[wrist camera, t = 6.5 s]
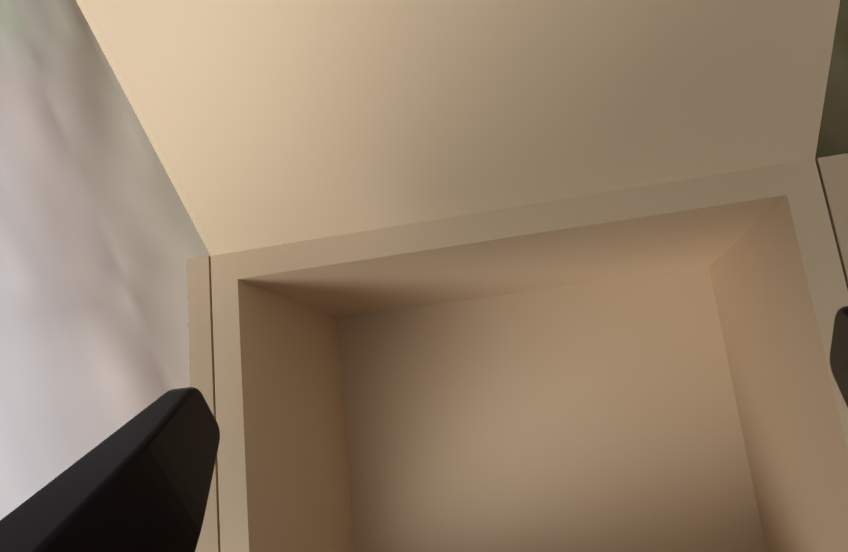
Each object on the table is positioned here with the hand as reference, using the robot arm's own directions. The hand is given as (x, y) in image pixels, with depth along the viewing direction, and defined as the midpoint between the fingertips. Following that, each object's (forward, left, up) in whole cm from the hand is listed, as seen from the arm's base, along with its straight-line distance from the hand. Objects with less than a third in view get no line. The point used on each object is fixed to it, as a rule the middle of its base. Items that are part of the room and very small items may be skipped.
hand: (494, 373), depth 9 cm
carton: (-3, -1, -10) cm, 10 cm away
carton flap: (+5, +2, -1) cm, 5 cm away
